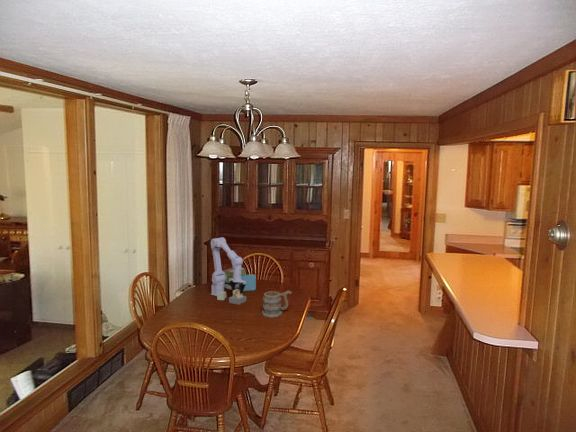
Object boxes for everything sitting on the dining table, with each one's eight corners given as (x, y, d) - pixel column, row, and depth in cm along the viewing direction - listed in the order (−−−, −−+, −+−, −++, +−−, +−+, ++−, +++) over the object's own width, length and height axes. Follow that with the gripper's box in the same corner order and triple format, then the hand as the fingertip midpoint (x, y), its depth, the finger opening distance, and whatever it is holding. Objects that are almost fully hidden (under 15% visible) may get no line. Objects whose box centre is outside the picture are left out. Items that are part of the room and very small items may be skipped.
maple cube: (232, 297, 299) (232, 290, 298) (237, 295, 303) (237, 288, 303) (238, 298, 296) (238, 291, 296) (242, 296, 301) (242, 290, 300)
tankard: (264, 318, 269) (264, 295, 267) (260, 311, 281) (260, 290, 279) (294, 315, 275) (294, 293, 273) (289, 308, 287) (289, 287, 285)
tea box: (232, 290, 327) (232, 272, 325) (223, 287, 333) (223, 270, 331) (245, 285, 339) (245, 268, 337) (236, 283, 345) (236, 266, 343)
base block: (229, 303, 299) (228, 297, 298) (236, 299, 307) (236, 294, 306) (239, 305, 294) (239, 299, 294) (246, 301, 302) (246, 296, 302)
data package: (255, 288, 332) (255, 274, 330) (255, 290, 327) (255, 275, 326) (240, 289, 329) (240, 274, 328) (240, 291, 325) (240, 276, 324)
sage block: (217, 299, 305) (217, 293, 304) (219, 297, 310) (219, 291, 309) (223, 300, 304) (223, 293, 303) (226, 298, 308) (226, 291, 308)
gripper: (226, 273, 298) (226, 291, 300) (241, 276, 290) (241, 295, 292) (232, 271, 304) (232, 289, 306) (247, 274, 296) (248, 292, 298)
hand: (237, 292), depth 299 cm, fingers open, 7 cm apart
